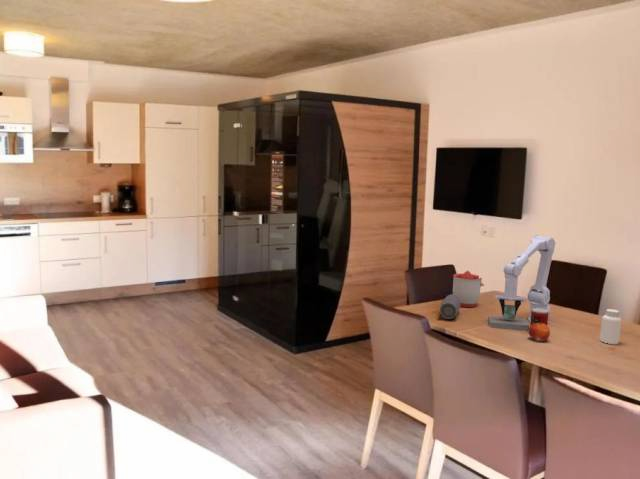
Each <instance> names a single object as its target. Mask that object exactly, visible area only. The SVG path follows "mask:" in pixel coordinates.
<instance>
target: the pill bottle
mask: <svg viewBox="0 0 640 479" xmlns="http://www.w3.org/2000/svg"><path fill="white" fill-rule="evenodd" d="M622 323H623V322H622V318H621V317H620V311H619V310H617V309H613V308H612V309H611V308H607V309H606V310H605V314H604V315H603V316H602V318H601V325H600V326H601V327H600V335H599V341H600V342H601V343H603V342H604V344H607V343H608V344H607V345H619V343H620V339H621V338H620V337H621V329H622Z"/></svg>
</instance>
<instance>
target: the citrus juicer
mask: <svg viewBox="0 0 640 479" xmlns="http://www.w3.org/2000/svg"><path fill="white" fill-rule="evenodd" d="M482 279H483V278H482V277H480V276H479V275H477V274H472V273H471V272H470V271H469V270H466V271H465V272H464V273H454V274H453V282H452V294H454V295H457V296H458V297H459V299H460V302H461V303H460V307H462V308H475V307H476V306H477V304H479V299H480V295H481V287H484V286H485V284H484V283H483V282H482Z"/></svg>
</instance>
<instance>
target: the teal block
mask: <svg viewBox="0 0 640 479" xmlns="http://www.w3.org/2000/svg"><path fill="white" fill-rule="evenodd" d="M502 317H503V318H504V319H514V318H516V317H515V304H514V305H513V304H505V306H504V315H502Z"/></svg>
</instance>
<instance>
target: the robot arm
mask: <svg viewBox="0 0 640 479" xmlns="http://www.w3.org/2000/svg"><path fill="white" fill-rule="evenodd" d="M555 247H556V241H555V239H554V238H553V237H552V236H550V237H549V236H541V235H534V236H533V237H532V238H530V244H529V245H528V247H527V248H526V249H525V250H524V251H523V253H519V254H517V256H516V257H515V258H514V259H513V260H512V261H511V262H510V263H507V264H505V266H504V268H503V273H504V278H505V280H504V281H505V282H504V292H503V294H502V295H501V294H500V295H498V294H497V295H496V294H495V295H494V300H496V301H497V300H498V302H499V305H500V307H501V315H502V316H503V315H504V306H505V305H506V302H505V301H508V302H509V301H511V302H514V306H515V316H516V315H517V312H518V311H519V307H521V305H522V303H526V301H527V300H528V301H529V302H528V303H529V304H530V305H529V306H530V308H529V316H528V317H527V319H528V321H529V322H531V311H532V309H533V308H541V309H546V310H548V311H549V314H548V324H549V323H550V315H551V314H550V313H551V307H550V304H549V302H550V300H551V296H550V294H551V291H550V289H549V288H548V287H547V283H548V279H549V278H548V277H549V273H550V269H551V264H552V258H553V254H554V252H555ZM536 252H539V254H540V258H539V262H538V264H539V265H538V268H537V273H536V274H537V275H536V278H535V284H533V285H532V286H530V287H529V290H528V292H527V297H523V296H517V292H518V291H517V290H518V281H519V276H520V275H521V273H522V271H523V268H524V267H525V266H526V265H527V264H528V263H529V262H530V261H529V258H530V257H532V256H533V254H535V253H536Z"/></svg>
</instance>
